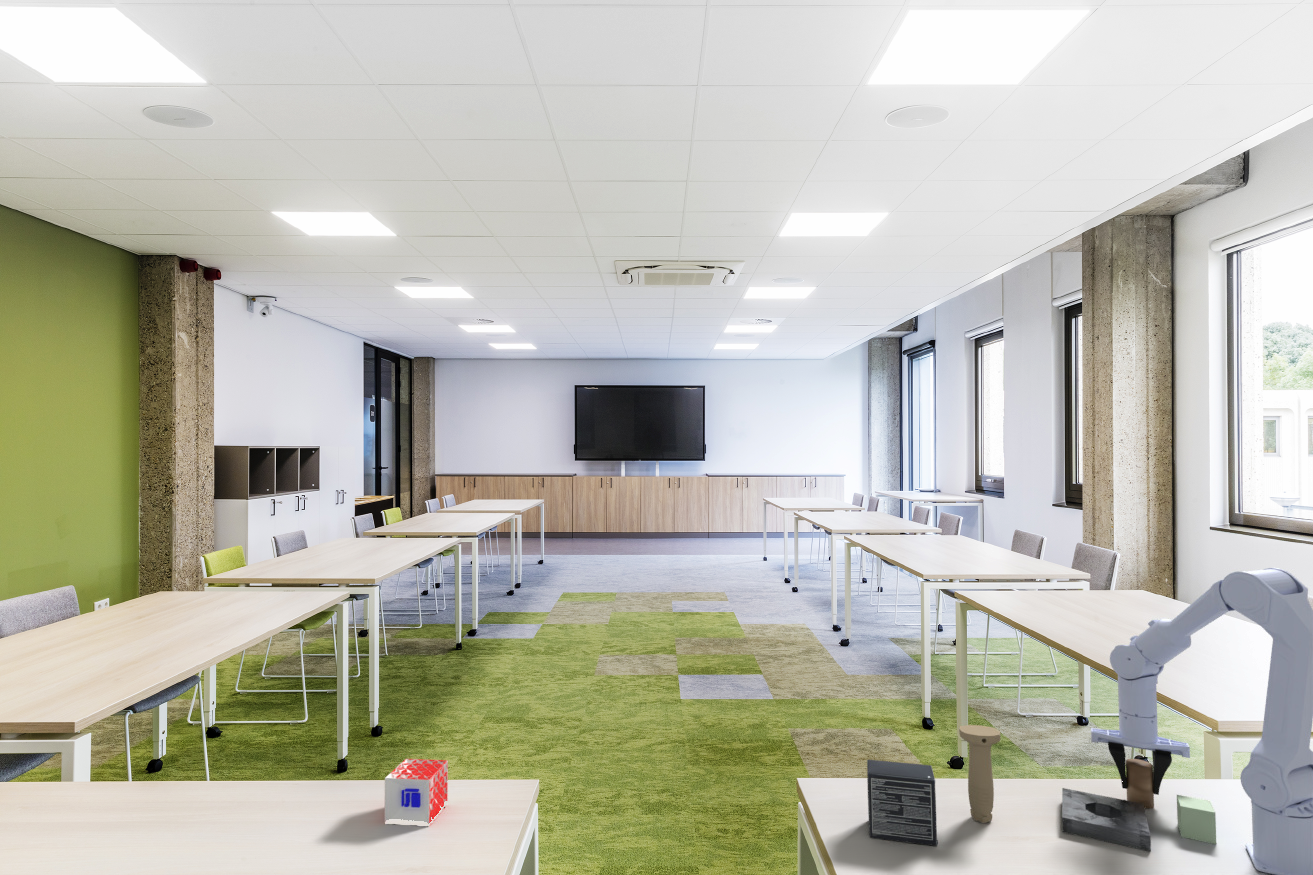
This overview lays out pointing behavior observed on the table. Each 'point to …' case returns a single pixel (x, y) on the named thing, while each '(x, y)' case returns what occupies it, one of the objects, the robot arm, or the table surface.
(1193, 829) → the square bit
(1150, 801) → the walnut peg
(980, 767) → the handle
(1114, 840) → the socket block
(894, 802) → the small box
